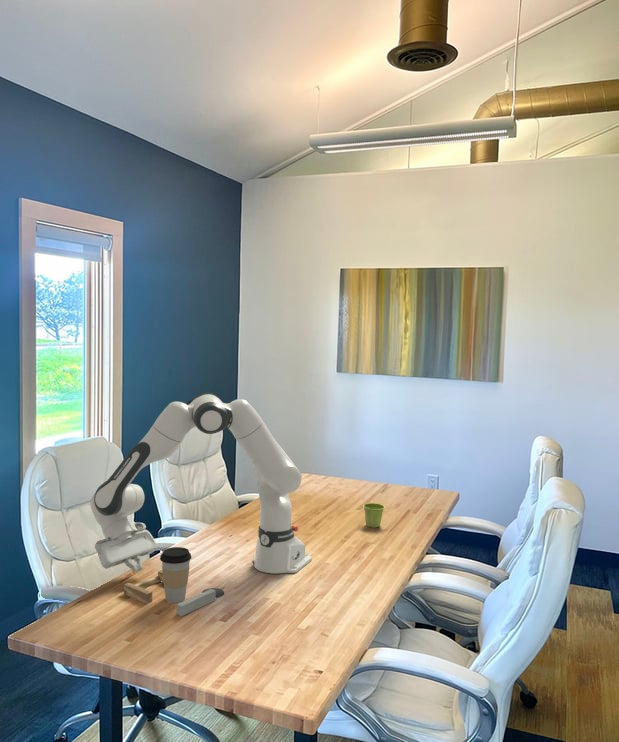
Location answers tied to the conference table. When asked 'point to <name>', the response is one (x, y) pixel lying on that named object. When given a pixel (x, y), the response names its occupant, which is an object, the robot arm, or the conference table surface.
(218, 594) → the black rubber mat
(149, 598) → the oak cubby
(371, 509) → the plant pot
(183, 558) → the coffee cup
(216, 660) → the conference table surface
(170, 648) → the conference table surface
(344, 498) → the conference table surface
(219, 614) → the conference table surface
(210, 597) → the bar
